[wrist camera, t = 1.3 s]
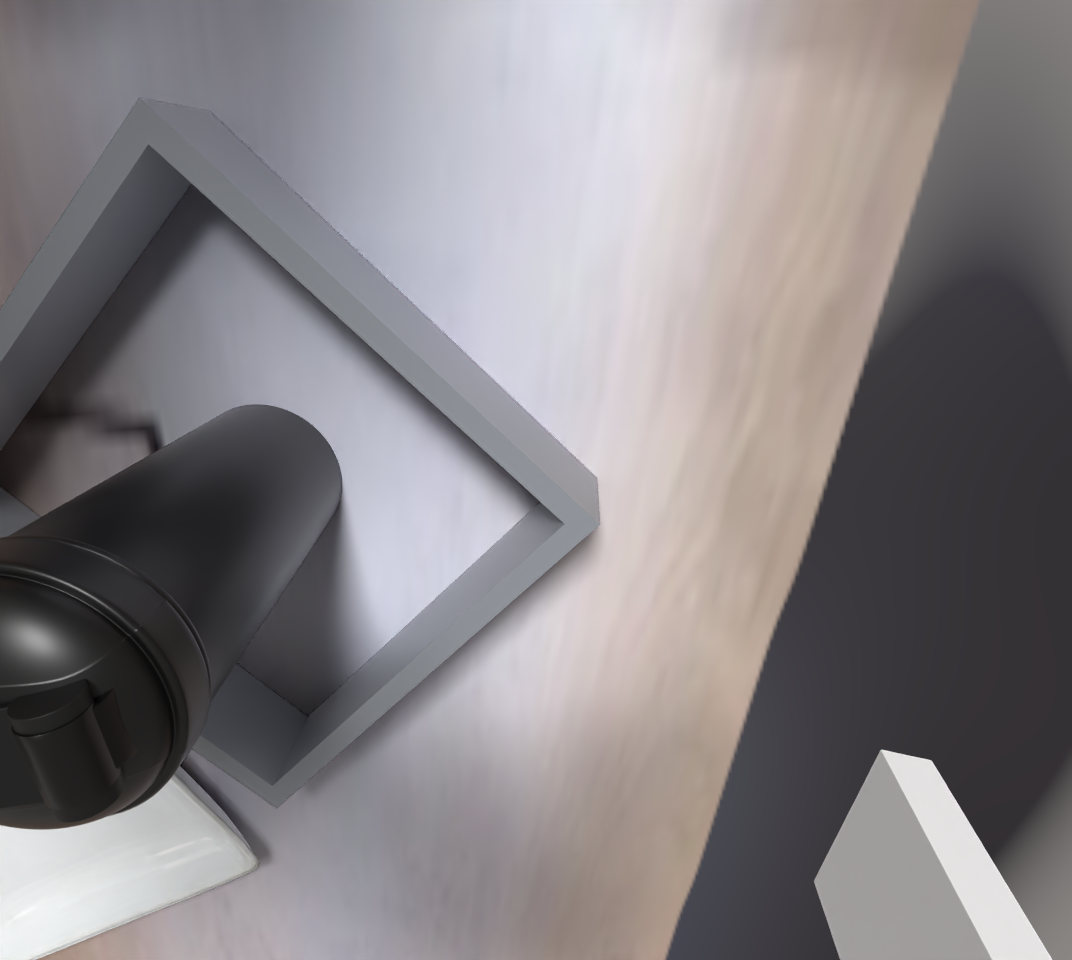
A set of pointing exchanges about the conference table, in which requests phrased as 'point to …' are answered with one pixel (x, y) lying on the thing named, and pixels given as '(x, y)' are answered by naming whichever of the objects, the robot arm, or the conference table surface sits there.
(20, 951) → the square plate
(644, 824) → the conference table surface
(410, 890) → the conference table surface
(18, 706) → the water bottle
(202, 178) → the grey bin
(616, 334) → the conference table surface
